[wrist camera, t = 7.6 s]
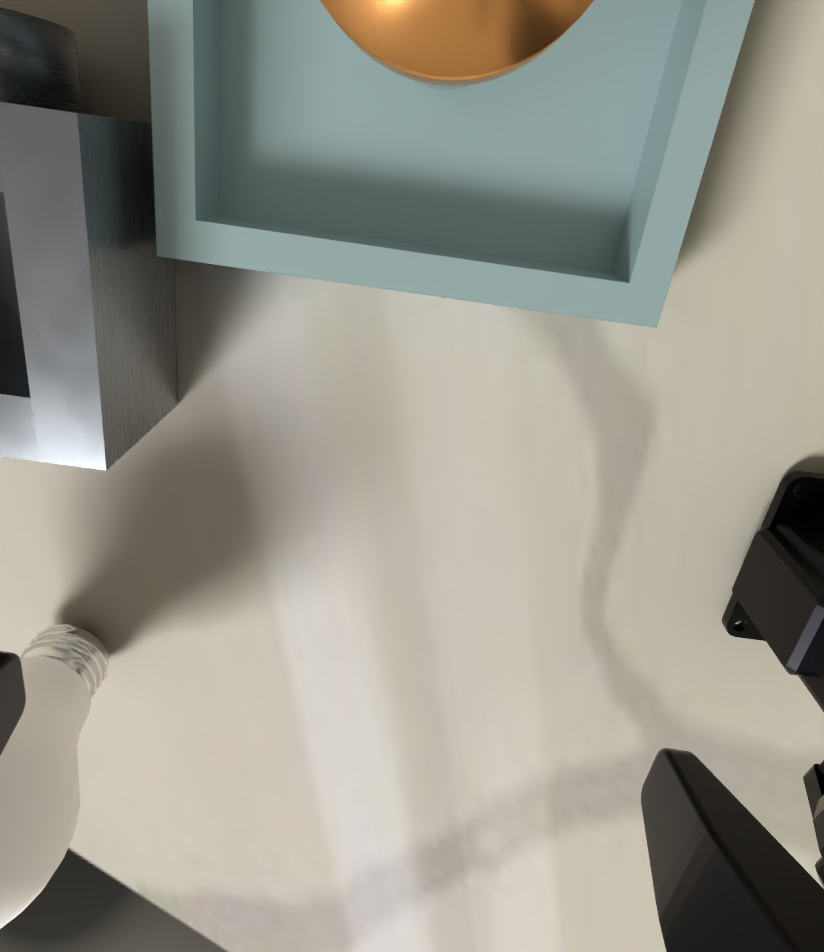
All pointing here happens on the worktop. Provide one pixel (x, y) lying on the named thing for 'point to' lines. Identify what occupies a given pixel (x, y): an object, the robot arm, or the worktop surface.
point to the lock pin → (454, 35)
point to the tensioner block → (76, 264)
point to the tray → (440, 154)
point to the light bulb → (45, 761)
